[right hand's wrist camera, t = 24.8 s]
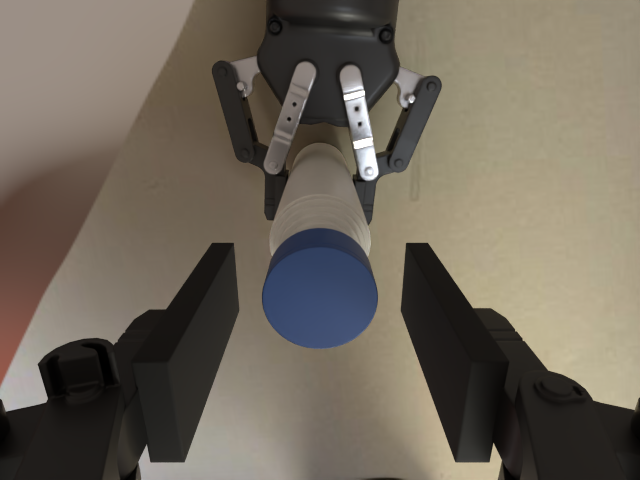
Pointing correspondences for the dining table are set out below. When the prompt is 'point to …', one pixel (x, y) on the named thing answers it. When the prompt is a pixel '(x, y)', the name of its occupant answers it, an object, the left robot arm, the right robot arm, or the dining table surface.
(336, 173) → the bottle
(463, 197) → the dining table surface
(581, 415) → the right robot arm
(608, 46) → the dining table surface
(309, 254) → the cap
